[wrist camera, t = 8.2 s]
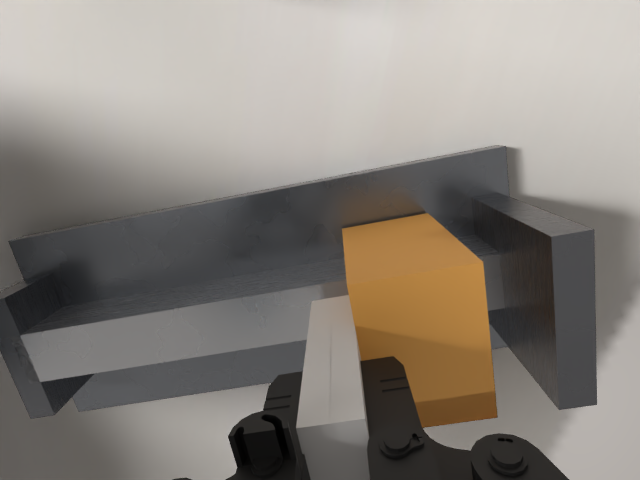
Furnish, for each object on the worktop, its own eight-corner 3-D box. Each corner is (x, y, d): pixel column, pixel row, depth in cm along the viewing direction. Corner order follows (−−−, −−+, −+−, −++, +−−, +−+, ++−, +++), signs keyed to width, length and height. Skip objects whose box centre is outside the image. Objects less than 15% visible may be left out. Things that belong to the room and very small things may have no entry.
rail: (89, 399, 23) (-33, 534, 15) (23, 236, 21) (-162, 299, 13) (511, 335, 21) (613, 452, 14) (496, 145, 19) (612, 156, 11)
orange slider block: (360, 331, 20) (375, 434, 13) (341, 228, 19) (346, 285, 12) (441, 318, 20) (497, 417, 13) (427, 213, 18) (483, 262, 12)
